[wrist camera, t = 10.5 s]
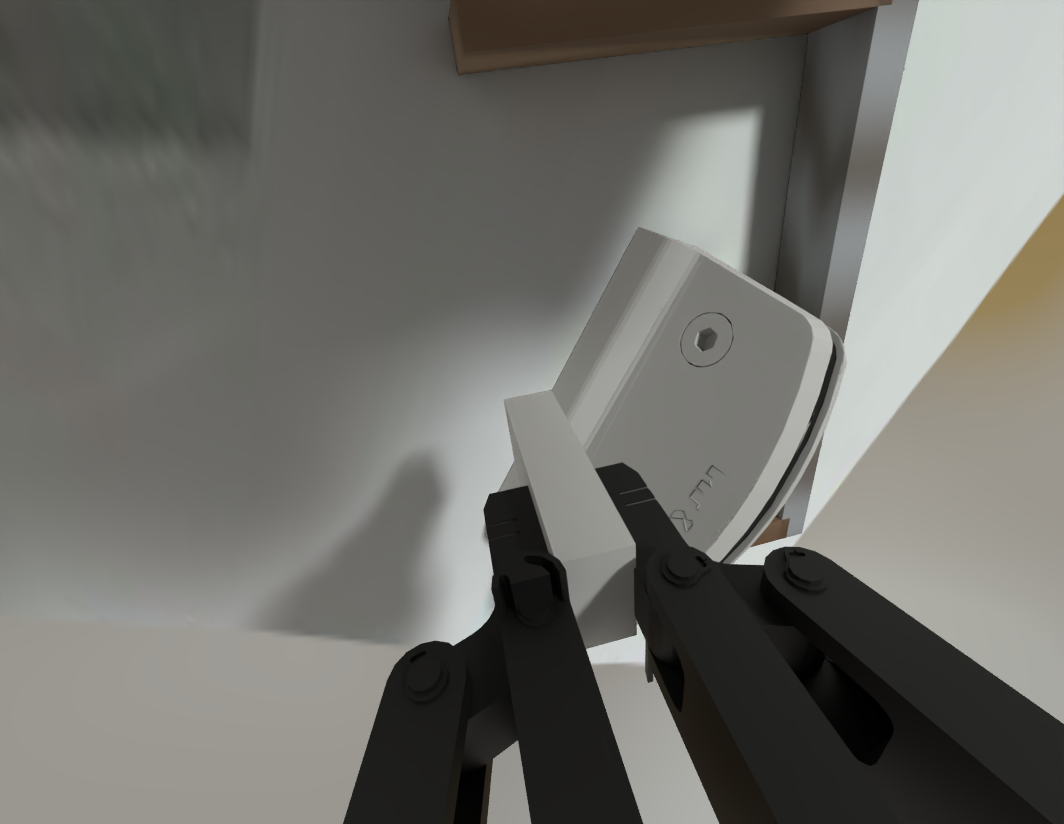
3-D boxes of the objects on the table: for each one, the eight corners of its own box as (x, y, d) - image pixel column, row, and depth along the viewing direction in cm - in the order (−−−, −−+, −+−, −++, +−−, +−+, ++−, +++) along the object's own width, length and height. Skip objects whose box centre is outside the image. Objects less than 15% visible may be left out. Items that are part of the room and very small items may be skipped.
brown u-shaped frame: (448, 18, 15) (453, -18, 12) (852, -23, 16) (932, -62, 14) (539, 559, 27) (552, 601, 24) (767, 500, 28) (801, 533, 26)
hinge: (643, 217, 19) (893, 301, 12) (700, 258, 22) (925, 344, 15) (484, 518, 24) (591, 696, 17) (547, 517, 27) (660, 668, 20)
